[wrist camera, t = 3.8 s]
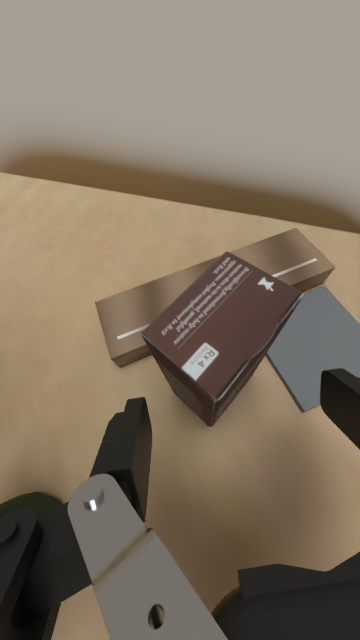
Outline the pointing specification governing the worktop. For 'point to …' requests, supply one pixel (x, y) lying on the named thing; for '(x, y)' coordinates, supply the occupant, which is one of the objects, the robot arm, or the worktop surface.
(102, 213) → the worktop surface
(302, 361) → the grey mat
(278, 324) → the box
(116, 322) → the walnut board
